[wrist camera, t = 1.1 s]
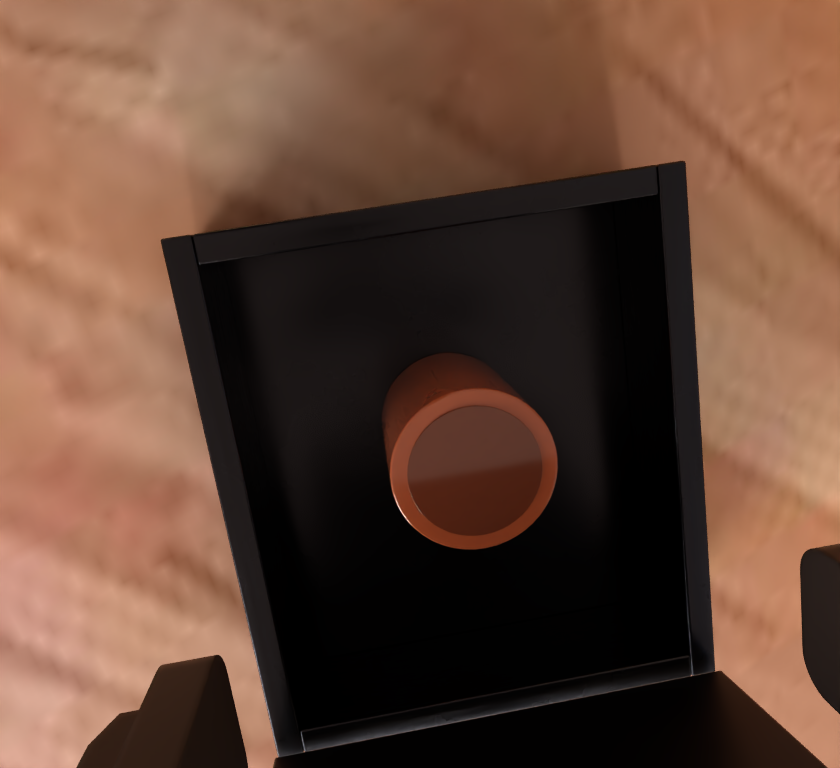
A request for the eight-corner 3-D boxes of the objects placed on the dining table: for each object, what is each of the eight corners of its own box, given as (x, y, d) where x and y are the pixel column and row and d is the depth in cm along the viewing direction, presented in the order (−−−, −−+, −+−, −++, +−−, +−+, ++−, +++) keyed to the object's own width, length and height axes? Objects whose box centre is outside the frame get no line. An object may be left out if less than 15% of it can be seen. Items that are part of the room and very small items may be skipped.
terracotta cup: (371, 364, 26) (377, 404, 20) (504, 342, 26) (549, 375, 20) (392, 491, 27) (404, 565, 21) (520, 468, 27) (567, 535, 21)
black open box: (196, 237, 25) (159, 239, 20) (625, 172, 26) (686, 159, 21) (289, 672, 29) (278, 758, 24) (658, 602, 30) (716, 672, 25)
